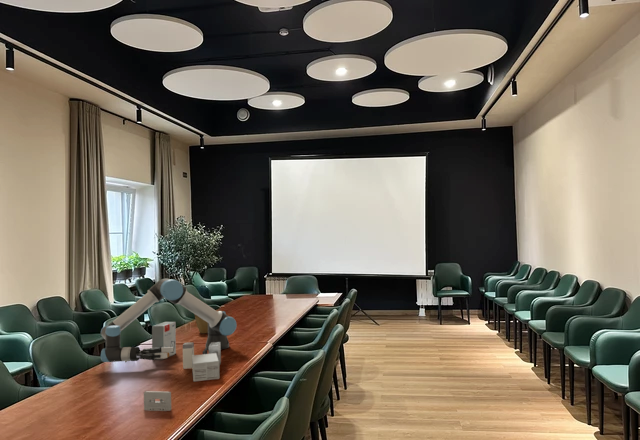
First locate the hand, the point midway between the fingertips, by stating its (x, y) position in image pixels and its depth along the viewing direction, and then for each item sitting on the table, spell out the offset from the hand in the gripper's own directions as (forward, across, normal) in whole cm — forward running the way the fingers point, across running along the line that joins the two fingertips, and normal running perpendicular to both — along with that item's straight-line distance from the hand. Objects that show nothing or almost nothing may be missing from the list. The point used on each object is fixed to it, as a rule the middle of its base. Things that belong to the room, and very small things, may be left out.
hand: (170, 352), depth 265 cm
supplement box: (+22, +18, -9) cm, 30 cm away
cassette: (+11, +65, -9) cm, 67 cm away
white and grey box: (+12, 0, -8) cm, 15 cm away
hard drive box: (-10, -27, -9) cm, 31 cm away
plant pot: (+2, -97, -8) cm, 97 cm away
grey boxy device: (+22, 0, -8) cm, 24 cm away
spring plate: (+19, 0, -8) cm, 21 cm away
